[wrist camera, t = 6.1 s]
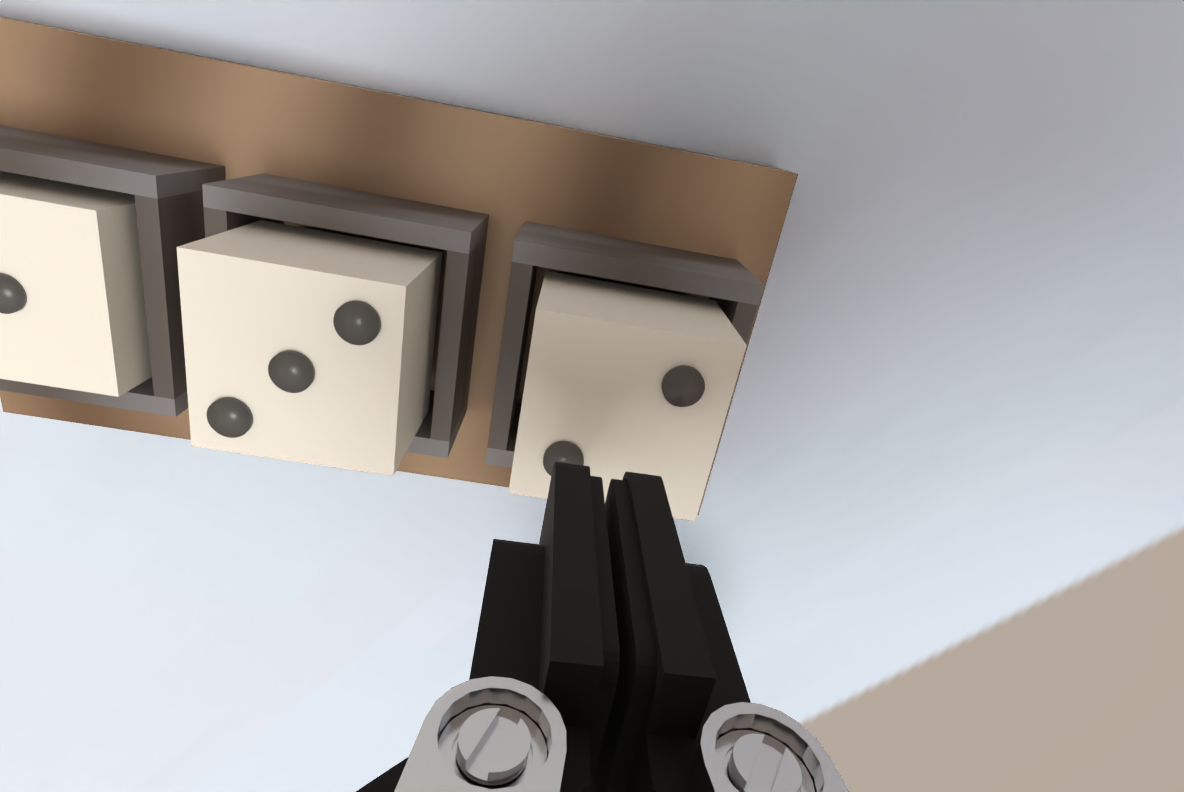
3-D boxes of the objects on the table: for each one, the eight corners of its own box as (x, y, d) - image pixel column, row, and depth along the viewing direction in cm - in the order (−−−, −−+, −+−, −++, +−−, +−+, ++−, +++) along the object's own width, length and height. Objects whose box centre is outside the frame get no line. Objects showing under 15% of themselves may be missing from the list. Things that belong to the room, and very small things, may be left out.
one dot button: (188, 192, 17) (90, 211, 14) (199, 348, 19) (114, 399, 15) (12, 161, 17) (-133, 172, 13) (39, 322, 18) (-83, 369, 15)
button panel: (777, 168, 19) (838, 185, 14) (689, 484, 23) (714, 574, 19) (-9, 15, 17) (-224, -22, 13) (52, 386, 22) (-91, 459, 17)
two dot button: (715, 300, 16) (748, 347, 13) (675, 449, 18) (696, 525, 15) (545, 270, 16) (535, 310, 13) (522, 425, 18) (507, 496, 15)
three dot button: (442, 252, 16) (403, 287, 13) (428, 410, 18) (391, 479, 14) (260, 220, 16) (172, 248, 12) (264, 384, 17) (187, 449, 14)
